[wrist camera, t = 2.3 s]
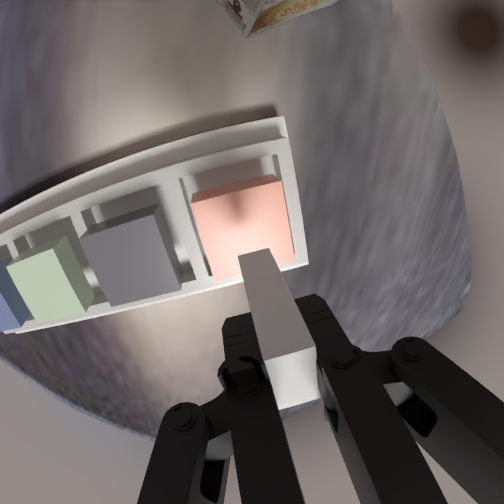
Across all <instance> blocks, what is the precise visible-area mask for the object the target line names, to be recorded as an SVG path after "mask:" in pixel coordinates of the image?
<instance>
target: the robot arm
mask: <svg viewBox="0 0 504 504" xmlns="http://www.w3.org/2000/svg"><path fill="white" fill-rule="evenodd" d="M238 261H239V265H240V269H241V273H242V277H243V281H244V285H245V289H246V294H247V298H248V302H249V306H250V310H251V312H249V313H245V314H241V315H237V316H233V317H229V318H226V320H225V322H224V324H223V327H222V335H223V344H224V353H225V361H224V362H223V363H222V364H221V366H220V367H219V369H218V375H217V376H218V378H219V380H220V382H221V385H222V387H223V389H224V390H223V392H222V393H221V394H220V395H219V396H218V397H216V398H215V399H213V400H211V401H209V402H207V403H205V404H203V405H201V406H198V405H197V404H194V403H190V402H185V403H179V404H177V405H174V406H172V407H171V408H170V409H169V410H168V411H167V412H166V413H165V415H164V417H163V419H162V422H161V425H160V428H159V431H158V435H157V438H156V441H155V444H154V448H153V451H152V454H151V457H150V461H149V464H148V467H147V471H146V474H145V478H144V481H143V485H142V488H141V491H140V495H139V498H138V502H137V504H223V503H224V497H225V490H226V484H227V477H228V470H229V463H230V456H232V455H234V458H235V465H236V471H237V478H238V484H239V490H240V496H241V502H242V504H305V500H304V497H303V494H302V490H301V487H300V483H299V480H298V476H297V473H296V469H295V466H294V463H293V459H292V455H291V451H290V448H289V444H288V441H287V438H286V434H285V430H284V427H283V423H282V420H281V416H280V412H279V410H280V409H284V408H288V407H291V406H295V405H298V404H302V403H305V402H308V401H312V400H315V399H318V398H320V394H321V396H322V399H323V401H324V416H325V421H327V420H328V421H329V423H330V425H331V428H332V431H333V433H334V436H335V438H336V441H337V444H338V446H339V449H340V451H341V454H342V457H343V459H344V462H345V464H346V467H347V470H348V472H349V475H350V477H351V480H352V483H353V485H354V488H355V490H356V493H357V496H358V498H359V501H360V503H361V504H448V503H447V501H446V499H445V497H444V495H443V493H442V491H441V489H440V487H439V485H438V483H437V481H436V479H435V477H434V475H433V473H432V472H431V470H430V468H429V466H428V464H427V462H426V460H425V458H424V456H423V455H422V453H421V451H420V449H419V447H418V445H417V443H419V445H420V446H421V447H422V448H423V449H424V450H425V451H426V452H427V453H428V454H429V455H430V456H431V457H432V458H433V459H434V460H435V461H436V462H437V463H438V464H439V465H440V466H441V467H442V468H443V469H444V470H445V471H446V472H447V473H448V474H449V475H450V476H451V477H452V478H453V479H454V480H455V481H456V482H457V483H458V484H459V485H460V486H461V487H462V488H463V489H464V490H465V491H466V492H467V493H468V494H469V495H470V496H471V497H472V498H473V499H474V500H475V501H476V502H477V503H478V504H504V402H503V401H501V400H500V399H499V398H498V397H496V396H495V395H494V394H493V393H492V392H490V391H489V390H488V389H486V388H485V387H484V386H483V385H482V384H480V383H479V382H478V381H477V380H475V379H474V378H473V377H471V376H470V375H469V374H468V373H467V372H465V371H464V370H463V369H461V368H460V367H459V366H458V365H456V364H455V363H454V362H453V361H451V360H450V359H448V358H447V357H446V356H445V355H443V354H442V353H441V352H440V351H438V350H437V349H436V348H434V347H433V346H432V345H430V344H429V343H428V342H426V341H425V340H423V339H421V338H418V337H412V336H411V337H404V338H402V339H400V340H398V341H397V342H396V343H395V344H394V345H393V347H392V350H389V351H380V352H366V351H362V350H361V349H360V348H359V347H357V346H354V345H352V344H351V342H350V341H349V339H348V338H347V336H346V334H345V333H344V331H343V329H342V328H341V326H340V324H339V323H338V321H337V319H336V318H335V317H334V314H333V313H332V311H331V310H330V308H329V306H328V305H327V303H326V301H325V300H324V299H323V298H321V297H319V296H318V295H316V294H311V295H308V296H304V297H301V298H297V299H293V296H292V294H291V292H290V290H289V288H288V286H287V284H286V282H285V280H284V278H283V276H282V273H281V271H280V269H279V267H278V265H277V263H276V261H275V259H274V257H273V255H272V253H271V251H270V249H269V248H266V249H262V250H258V251H254V252H250V253H246V254H242V255H239V256H238ZM415 441H416V442H417V443H416V442H415Z"/></svg>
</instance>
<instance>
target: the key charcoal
mask: <svg viewBox="0 0 504 504" xmlns="http://www.w3.org/2000/svg"><path fill="white" fill-rule="evenodd" d="M79 241H80V243H81V246H82V248H83V250H84V253H85V255H86V257H87V259H88V261H89V264H90V266H91V268H92V270H93V272H94V274H95V276H96V278H97V280H98V282H99V284H100V286H101V288H102V290H103V292H104V294H105V296H106V298H107V300H108V302H109V304H110V306H111V307H114V306H118V305H122V304H126V303H130V302H135V301H139V300H143V299H147V298H151V297H155V296H159V295H163V294H168V293H172V292H176V291H180V290H181V288H182V278H183V270H182V268H181V265H180V262H179V259H178V257H177V254H176V251H175V248H174V246H173V243H172V240H171V237H170V234H169V231H168V228H167V225H166V222H165V219H164V216H163V213H162V210H161V207H160V204H159V203H158V204H155V205H152V206H148V207H145V208H142V209H139V210H136V211H133V212H129V213H126V214H123V215H120V216H117V217H114V218H111V219H108V220H105V221H103V222H100V223H97V224H94V225H91V226H90V227H89V228H88V229H87V230H86V231H85V232H84V234H83V235H82V236H81V237H80V238H79Z"/></svg>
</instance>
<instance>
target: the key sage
mask: <svg viewBox="0 0 504 504" xmlns="http://www.w3.org/2000/svg"><path fill="white" fill-rule="evenodd" d="M6 268H7V270H8V272H9V274H10V276H11V278H12V280H13V282H14V284H15V286H16V287H17V289H18V291H19V293H20V295H21V296H22V298H23V300H24V302H25V303H26V305H27V307H28V308H29V310H30V312H31V313H32V315H33V317H34V318H35V320H36V321H37V323H38V324H39V323H43V322H48V321H52V320H57V319H61V318H66V317H70V316H75V315H79V314H83V313H86V312H87V310H88V308H89V306H90V304H91V302H92V300H93V298H94V296H95V294H94V292H93V290H92V288H91V286H90V284H89V282H88V280H87V278H86V276H85V274H84V272H83V270H82V268H81V266H80V264H79V262H78V260H77V258H76V255H75V253H74V251H73V249H72V246H71V244H70V242H69V240H68V237H67V235H64V236H61V237H59V238H56V239H53V240H51V241H48V242H46V243H43V244H41V245H38V246H36V247H33V248H31V249H29V250H26V251H24V252H21V253H20V254H19V255H18V256H17V257H15V258H14V259H13V260H12V261H11V262H10V263H9V264H8V265H7V266H6Z"/></svg>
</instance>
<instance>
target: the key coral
mask: <svg viewBox="0 0 504 504" xmlns="http://www.w3.org/2000/svg"><path fill="white" fill-rule="evenodd" d="M191 207H192V210H193V213H194V217H195V220H196V223H197V227H198V230H199V233H200V237H201V240H202V243H203V246H204V249H205V253H206V256H207V259H208V262H209V265H210V268H211V271H212V274H213V277H214V281H219V280H223V279H227V278H231V277H235V276H239V275H242V273H241V269H240V265H239V261H238V256H239V255H242V254H246V253H250V252H254V251H258V250H262V249H266V248H269V249H270V251H271V253H272V255H273V257H274V259H275V261H276V263H277V265H280V264H284V263H288V262H292V261H295V257H294V251H293V245H292V238H291V232H290V227H289V221H288V215H287V209H286V204H285V198H284V193H283V187H282V182H281V180H280V179H278V178H277V177H276V176H275V175H274V174H268V175H264V176H259V177H255V178H251V179H247V180H242V181H238V182H234V183H230V184H226V185H223V186H219V187H215V188H211V189H207V190H204V191H200V192H196V193H193V194H192V199H191Z"/></svg>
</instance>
